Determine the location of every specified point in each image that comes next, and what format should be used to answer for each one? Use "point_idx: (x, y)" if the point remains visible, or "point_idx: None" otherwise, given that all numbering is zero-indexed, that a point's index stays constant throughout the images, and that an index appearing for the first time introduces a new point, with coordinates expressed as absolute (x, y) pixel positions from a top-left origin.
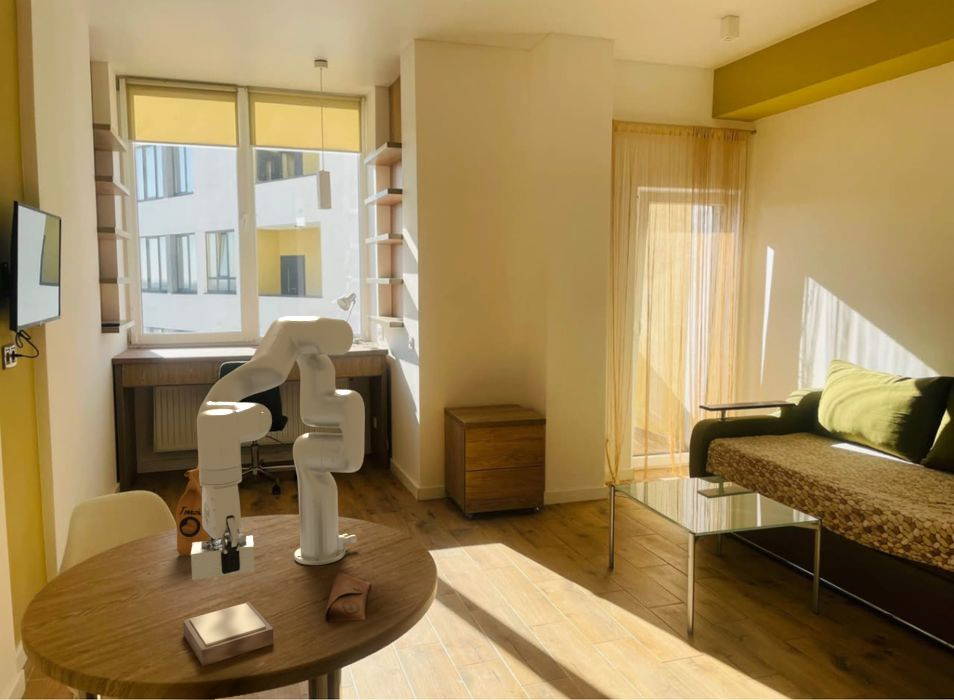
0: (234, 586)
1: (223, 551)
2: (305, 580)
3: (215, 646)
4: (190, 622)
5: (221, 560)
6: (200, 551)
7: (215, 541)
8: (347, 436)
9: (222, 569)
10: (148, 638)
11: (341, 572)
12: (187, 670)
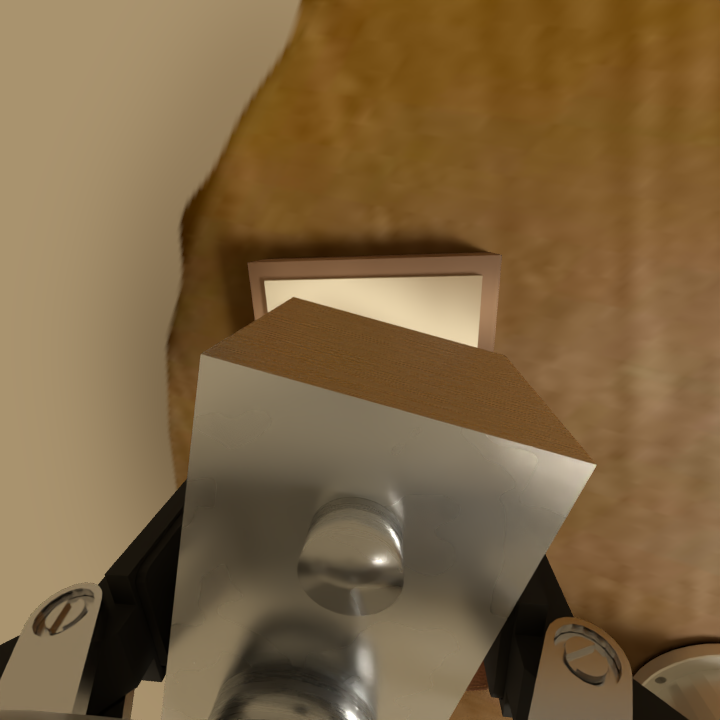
0: (715, 466)
1: (97, 603)
2: (578, 609)
3: (253, 303)
4: (464, 274)
5: (161, 523)
6: (236, 456)
7: (443, 633)
8: None
9: (186, 479)
10: (549, 138)
11: (474, 689)
12: (265, 216)
